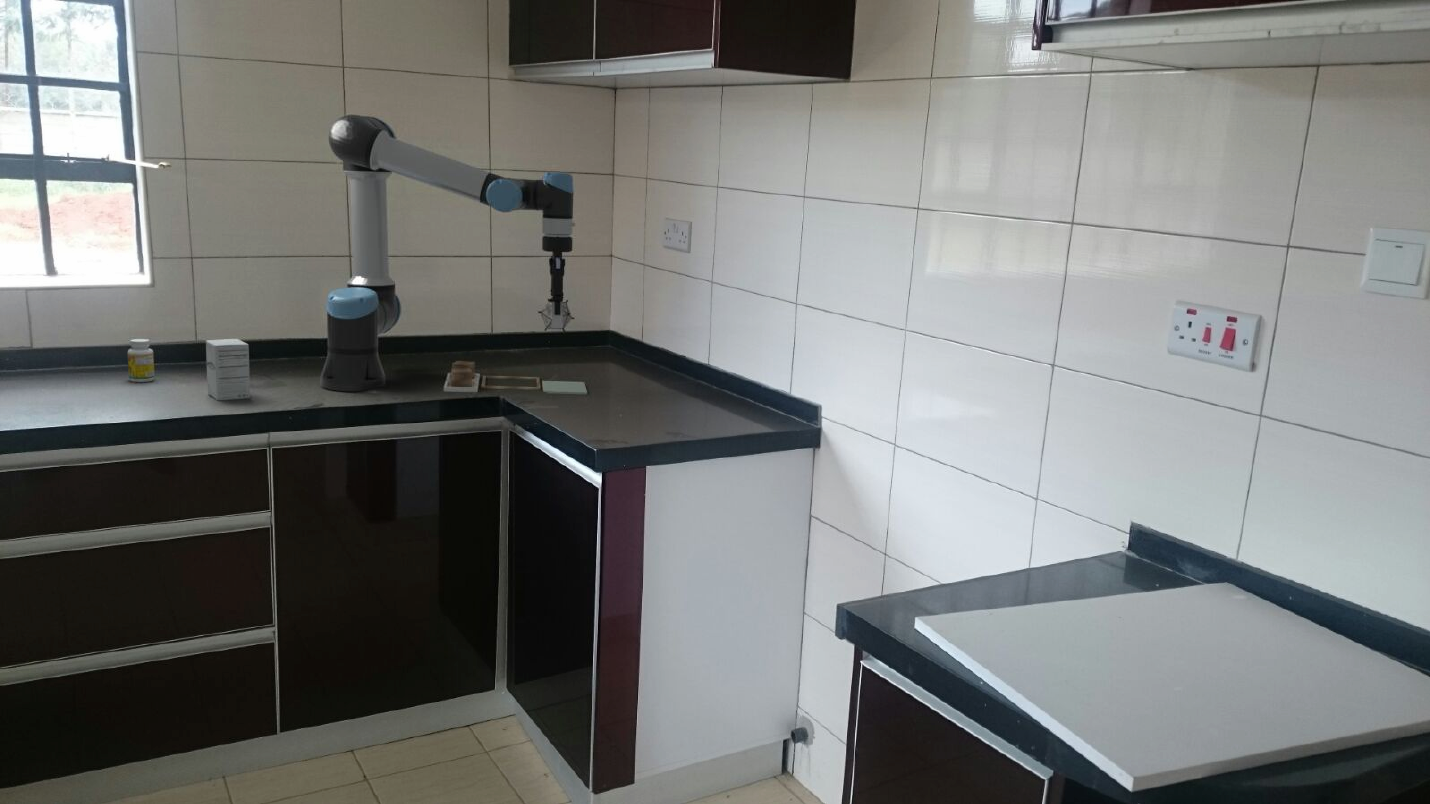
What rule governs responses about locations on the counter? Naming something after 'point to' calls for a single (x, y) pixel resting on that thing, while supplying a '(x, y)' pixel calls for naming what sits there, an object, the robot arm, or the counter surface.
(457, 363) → the block back
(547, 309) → the game die
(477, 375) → the dish back
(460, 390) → the dish front
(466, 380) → the block front
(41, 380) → the counter surface
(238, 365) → the supplement box
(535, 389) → the oak frame
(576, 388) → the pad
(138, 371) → the supplement bottle
